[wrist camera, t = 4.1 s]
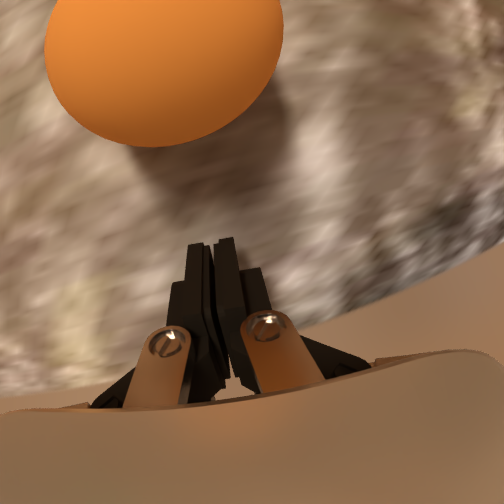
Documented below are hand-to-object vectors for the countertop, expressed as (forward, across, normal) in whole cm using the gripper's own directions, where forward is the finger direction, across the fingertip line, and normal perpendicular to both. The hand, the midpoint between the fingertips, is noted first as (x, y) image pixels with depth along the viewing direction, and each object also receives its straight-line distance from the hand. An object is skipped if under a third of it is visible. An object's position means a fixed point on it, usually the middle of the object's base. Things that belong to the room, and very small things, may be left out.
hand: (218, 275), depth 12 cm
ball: (-2, 0, -8) cm, 8 cm away
